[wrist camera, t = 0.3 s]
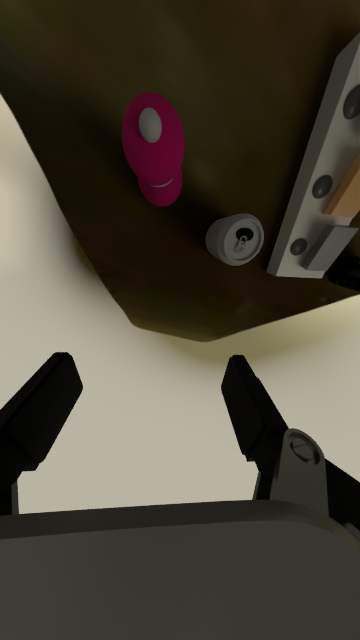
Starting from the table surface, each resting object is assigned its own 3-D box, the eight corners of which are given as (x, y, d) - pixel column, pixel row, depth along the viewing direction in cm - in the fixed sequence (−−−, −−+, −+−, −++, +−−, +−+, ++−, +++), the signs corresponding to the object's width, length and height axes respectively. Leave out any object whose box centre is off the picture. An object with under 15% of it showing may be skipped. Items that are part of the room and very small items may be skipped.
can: (243, 222, 33) (277, 217, 22) (232, 259, 36) (257, 271, 26) (209, 214, 32) (228, 207, 21) (201, 254, 35) (213, 263, 25)
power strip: (372, -56, 19) (426, -132, 15) (450, -38, 20) (522, -106, 16) (266, 271, 38) (277, 276, 34) (308, 274, 39) (323, 278, 35)
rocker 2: (327, 224, 28) (335, 226, 27) (350, 225, 29) (359, 228, 27) (300, 266, 34) (306, 270, 32) (320, 267, 34) (326, 271, 33)
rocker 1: (360, 150, 24) (371, 149, 22) (387, 153, 24) (400, 152, 23) (323, 213, 29) (330, 215, 28) (345, 215, 29) (353, 217, 28)
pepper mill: (153, 216, 31) (133, 198, 14) (134, 171, 28) (76, 74, 11) (186, 199, 30) (209, 156, 13) (171, 150, 27) (173, 2, 9)
